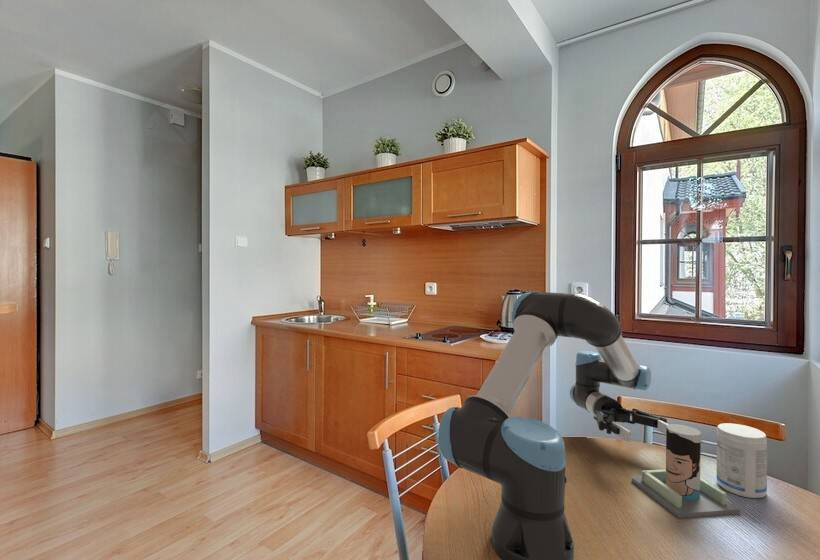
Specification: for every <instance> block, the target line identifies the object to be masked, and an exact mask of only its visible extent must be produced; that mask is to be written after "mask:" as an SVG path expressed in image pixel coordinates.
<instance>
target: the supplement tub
mask: <svg viewBox="0 0 820 560" xmlns="http://www.w3.org/2000/svg"><path fill="white" fill-rule="evenodd" d="M716 427H717V430H716V482H717V484H718V485H719V486H720V487H721V488H722V489H724V490H725V491H728V492H730V493H731V494H733V495H737V496H740V497H745V498H749V499H759V498H763V497H766V495H767V494H768V493H767V492H768V491H767V490H768V440H767V435H766V433H765V432H764V431H762V430H760V429H758V428H755V427H752V426H749V425H744V424H739V423H730V422H728V423H727V422H725V423H719V424H718V425H717V426H716Z"/></svg>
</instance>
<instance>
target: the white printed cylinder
mask: <svg viewBox="0 0 820 560" xmlns="http://www.w3.org/2000/svg"><path fill="white" fill-rule="evenodd" d="M665 435H666V437H665V441H666V442H665V469H666V485H667V486H668V487H670V488H671V489H672V490H674V491H675V492H677V493H678V494H679V495H681V496H682V499H686V500H697V499H699V498H700V477H701V452H702V451H701V445H702V443H701V441H702V432H701V431H700V430H699V429H697V428H696V427H691V426H690V425H684V424H678V423H677V424H676V423H670V424H669V425H667V426H666V434H665Z"/></svg>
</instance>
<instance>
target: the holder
mask: <svg viewBox="0 0 820 560" xmlns="http://www.w3.org/2000/svg"><path fill="white" fill-rule="evenodd" d="M631 482H632V483H633V484H634V485H636V486H637V487H638V488H639V489H641V490H642V491H643V492H644V493H645V494H647V495H648V496H650V497H651V498H652V499H653V500H654V501H656V502H657V503H658V504H660V505H661V506H663V507H664V508H665V509H666V510H667V511H669V512H670V513H671V514H673V515H674V516H675V517H677V518H678V519H684V518H685V519H686V518H687V519H688V518H699V517H711V516H713V517H715V516H725V515H728V516H729V515H740V514H741V508H739V507H738V506H737V505H734V504H733V503H732V502H731V501H728V500H727V493H726V492H725V491H723V490H722V489H720V488H718V487H717V486H715V485H714V484H712V483H710V482H709V481H707V480H705V479H704V478H702V477H701V476H700V498H699V499H697V500H686V499H682V496H681V495H679V494H678V493H677V492H675V491H674V490H672V489H671V488H670V487H668V486H667V485H666V468H665V469H664V468H663V469H647V470H641V476H638V477H637V476H636V477H632V478H631Z"/></svg>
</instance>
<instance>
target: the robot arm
mask: <svg viewBox="0 0 820 560" xmlns="http://www.w3.org/2000/svg"><path fill="white" fill-rule="evenodd" d="M511 323H512V327H513V331H514V332H513V334H512V335H511V337H510V339H509V340H508V341H507V344H506V345H505V347H504V349H503V350H502V352H501V353H500V355H499V357H498V358H497V360H496V362H495V364H494V365H493V367H492V368H491V370H490V371H489V374H488V375H487V377H486V379H485V381H484V382H483V384H482V386H481V387H480V389H479V391H478V392H477V394H476V395H475V394H474V395H469V396H467V398H466V399H465V400H464V402H463V404H462V405H461V407H460V406H459V407H457V406H453V407H449V408H448V409H446V411H445V412H444V413H443V415H442V417H441V419H440V421H439V425H438V432H437V437H438V438H437V445H438V449H439V451H440V454H441V456H442V457H443V458H444V460H446V461H448V462H450V463H451V464H453V465H455V466H456V467H457V468H459V469H464V470H466V471H469V472H471V473H473V474H476V475H478V476H480V477H483V478H486V479H487V480H490V481H492V482H494V483H496V484H499V485H500V486H501V498H500V499H501V501H500V504H499V506H498V509H497V513H496V516H495V518H494V521H493V524H492V528H491V543H492V547H493V549H494V551H495V553H496V554H497V555H498V557H500V558H501V560H575V559H574V558H575V544H574V539H573V537H572V532H571V529H570V527H569V523H568V519H567V517H566V513H565V502H566V501H565V498H566V497H565V496H566V494H565V493H566V492H565V489H566V483H565V477H566V465H567V458H566V457H567V456H566V451H565V449H566V448H565V441H564V439H563V437H562V435H561V434H560V433H559V431H558V430H557V429H555V428H554V427H553V426H552V425H550V424H548V423H546V422H544V421H541V420H539V419H535V418H533V417H523V416H512V417H511V414H512V412H513V411H514V408H515V406H517V405H516V404H517V403H518V401H519V400H520V397H521V395H522V393H523V391H524V389H525V387H526V385H527V384H528V382H529V380H530V378H531V375H532V374H533V372H534V370H535V368H536V366H537V364H538V362H539V360H540V358H541V357H542V355H543V352H544V350H545V348H550V347H552V346H553V345H554V344H555V343H556V340H557V339H558V338H559V337H564V338H575V339H580V340H584V341H586V342H587V343H588V344H589V345H591V346H592V347H594V348H595V350H596V351H597V352H595V351H591V350H580V351H579V352H577V353H576V356H575V383H574V384H573V385H572V386H571V387H570V390H569V397H570V399H571V401H572V402H573V403H574V404H575V405H577V406H578V407H580V408H582V409H583V410H585V411H587V412H588V413H590V414H592V415H593V420H595V421H596V423H597V427H598V430H599V431H604V430H606V434H608V435H611V434H612V433H613V434H614V435H617V436H618V437H620V438H621V439H623V440H624V441H626V442H628V443H631V442H632V441H631V440H632V439H631V436H632V431H631V430H629V429H627V428H626V427H624V426H623V425H621V424H619V423H626V424H631V425H635V424H638V425H641V426H647V427H650V428H655V429H657V431H659V432H661V433H663V434H664V435H666V426H667V425H670V424H669V423H668V418H665V417H663V416H659V415H655V414H652V413H648V412H645V411H641V410H639V409H637V408H632V409H631V410H630V409H626V408H623V405H622V404H621V403H620V402H619V401H618V400H617V399H615V398H612V397H610V396H608V395H607V394H605V393H602V392H601V389H600V386H601V384H607V385H612V386H617V387H622V388H628V389H632V390H636V391H637V390H638V391H639V390H640V391H647V390H649V388H650V386H651V383H652V371H651V369H650V367H649V366H646V365H643V364H638V363H637V362H636V360H635V358H634V356H633V354H632V352H631V350H630V348H629V347H628V344H627V343H626V341H625V339H624V337H623V336H622V325H621V323H620V321H619V319H618V318H617V317H616V315H615V314H614V313H613V312H612V311H611V310H610V309H609V308H608V307H606V306H605V305H604V304H602V303H601V302H599V301H598V300H596V299H594V298H593V297H590V296H587V295H586V294H585V295H584V294H581V293H566V292H565V293H564V292H563V293H561V292H548V291H547V292H545V291H528V292H523V293H522V294H521V295H519V296H518V297H517V298H516V300H515V301H514V303H513V306H512V311H511ZM601 358H602V359H601Z"/></svg>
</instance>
